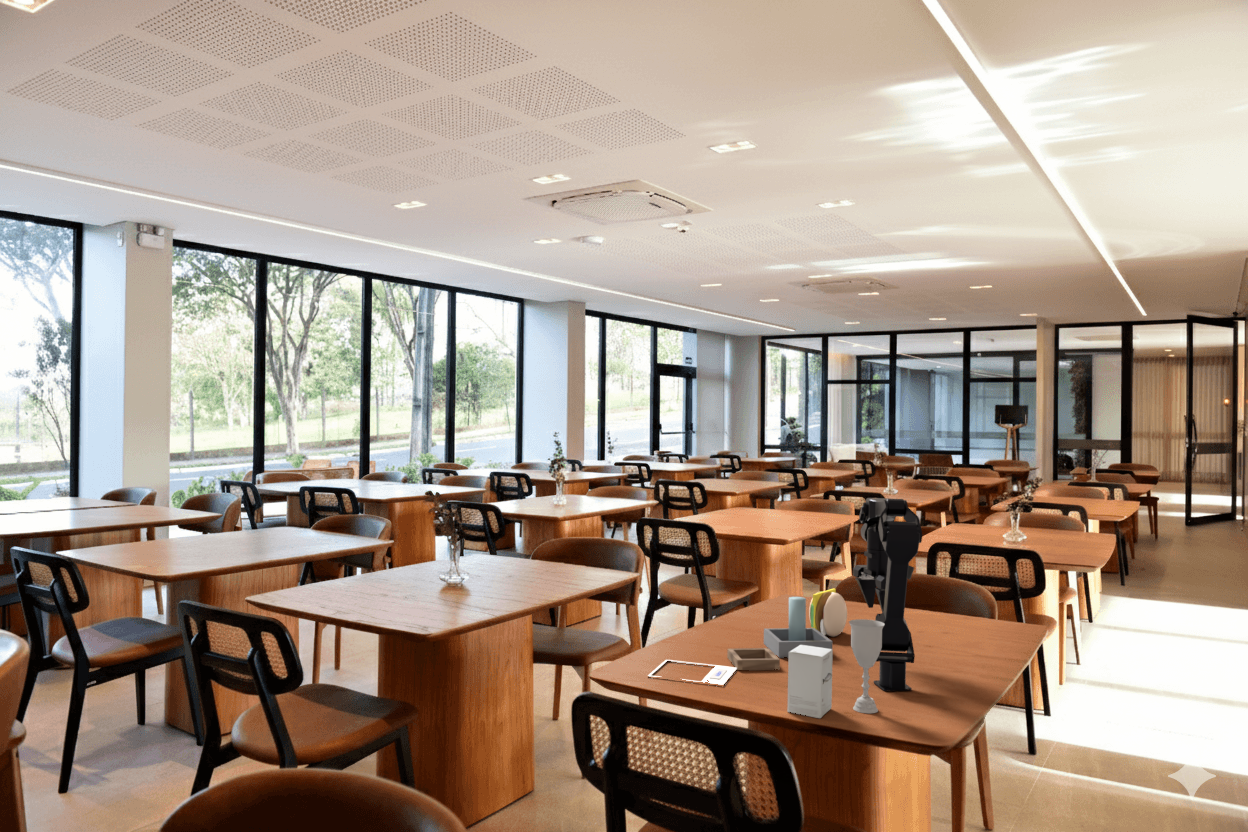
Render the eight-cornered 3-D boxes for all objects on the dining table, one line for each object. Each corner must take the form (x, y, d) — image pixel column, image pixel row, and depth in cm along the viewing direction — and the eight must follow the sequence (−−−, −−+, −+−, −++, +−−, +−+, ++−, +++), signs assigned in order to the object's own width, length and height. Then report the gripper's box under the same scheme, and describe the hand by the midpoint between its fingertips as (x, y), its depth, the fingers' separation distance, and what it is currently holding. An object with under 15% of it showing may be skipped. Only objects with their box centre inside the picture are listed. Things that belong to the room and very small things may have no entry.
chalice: (877, 703, 184) (878, 619, 184) (888, 714, 177) (889, 627, 177) (843, 703, 184) (844, 619, 184) (852, 714, 177) (854, 626, 177)
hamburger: (832, 641, 236) (832, 597, 236) (805, 636, 241) (805, 593, 241) (852, 633, 245) (852, 591, 245) (825, 628, 250) (826, 587, 250)
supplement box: (821, 719, 174) (822, 656, 174) (786, 712, 178) (787, 651, 178) (832, 709, 181) (833, 648, 181) (798, 702, 184) (799, 643, 184)
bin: (832, 657, 220) (832, 641, 220) (778, 657, 219) (778, 642, 219) (814, 642, 234) (814, 627, 234) (763, 643, 233) (763, 628, 233)
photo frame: (723, 683, 194) (647, 675, 200) (723, 688, 194) (647, 679, 200) (737, 666, 208) (666, 658, 214) (737, 671, 208) (665, 663, 214)
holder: (779, 669, 208) (779, 659, 208) (737, 670, 207) (737, 660, 207) (767, 657, 219) (767, 648, 219) (727, 658, 217) (727, 648, 217)
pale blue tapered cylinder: (803, 649, 223) (803, 600, 223) (786, 647, 225) (786, 599, 225) (807, 645, 227) (807, 597, 227) (791, 643, 229) (791, 596, 229)
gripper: (927, 554, 206) (926, 620, 206) (894, 543, 225) (893, 603, 225) (882, 554, 205) (881, 620, 205) (852, 543, 223) (851, 603, 223)
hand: (878, 611), depth 214 cm, fingers open, 9 cm apart
